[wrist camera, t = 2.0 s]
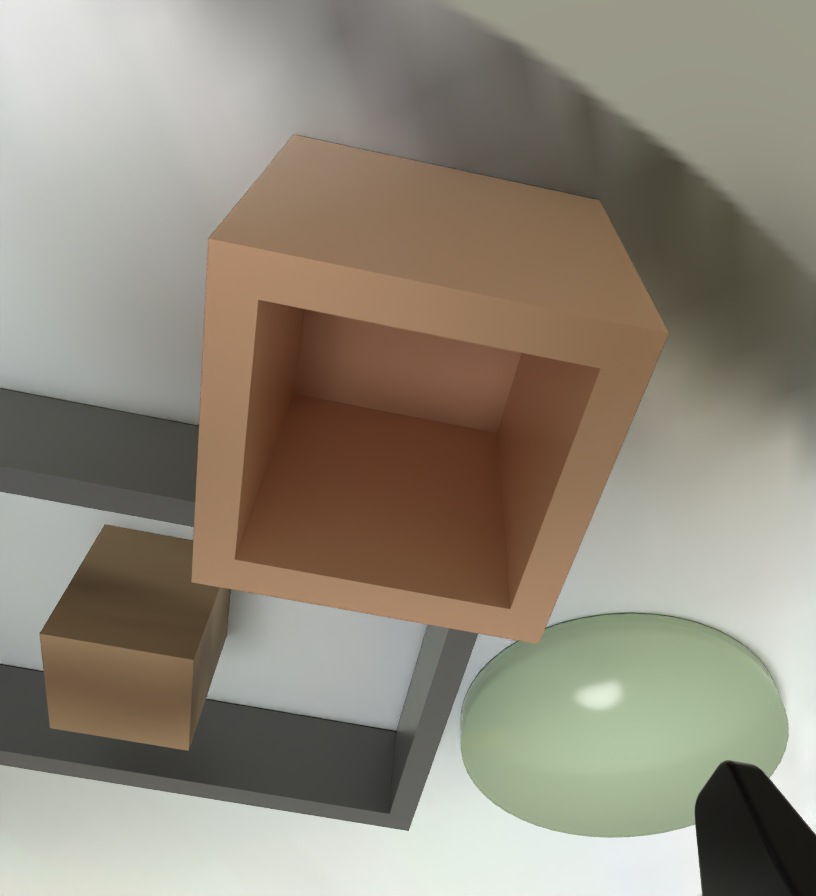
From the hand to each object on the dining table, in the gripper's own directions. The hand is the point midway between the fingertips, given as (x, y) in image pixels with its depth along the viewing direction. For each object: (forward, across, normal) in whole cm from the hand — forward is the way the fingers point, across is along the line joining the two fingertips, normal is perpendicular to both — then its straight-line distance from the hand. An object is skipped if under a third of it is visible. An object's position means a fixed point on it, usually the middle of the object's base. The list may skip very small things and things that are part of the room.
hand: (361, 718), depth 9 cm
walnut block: (+12, +6, +11) cm, 17 cm away
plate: (+12, -10, +14) cm, 21 cm away
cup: (+12, 0, 0) cm, 12 cm away
